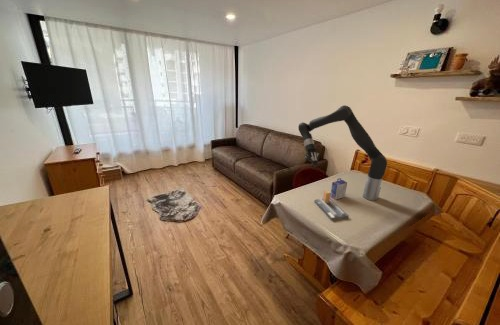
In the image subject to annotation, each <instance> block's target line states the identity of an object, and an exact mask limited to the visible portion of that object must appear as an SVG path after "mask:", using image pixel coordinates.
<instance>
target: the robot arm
mask: <svg viewBox="0 0 500 325" xmlns="http://www.w3.org/2000/svg"><path fill="white" fill-rule="evenodd" d="M337 122H345V123H346V125H347V127H348V130H349V133H350V135H351V137H352V139H353V141H354V142H355V143H356V145H358V147H359V148H360V149H361V150H363V151H364V152H365V153H366V155H367V157H368V158H369V160H370V166H369V170H368V171H367V177H366V180H365V183H364V188H363V189H364V190H363V192H362V193H363V194H362V197H363V198H364V199H365V200H367V201H376V200H378V199H379V196H380V192H381V185H382V181H383V177H384V176H385V173H386V169H387V165H388V161H387V157H385V155H384V154H383V153H382V152H381V151H380V150H379V149H378V148H377V146H376V145H375V143H374V141H373V140H372V137H371V136H370V134H369V133H368V132H367V130H365V127H364V126H363V125H362V124H361V123H360V122H359V120H358V119H357V117H356V115H355V114H354V112H353V110H352V108H351V107H350V106H349V105H342V106H340V107H338V109H336V110H335V111H333V112H331V113H330V114H327V115H324V116H320V117H316V118H314V119H311V120H310V121H309V123H306V122H303V121H302V122H300V123H299V124H298V132H299V134H300V136H301V137H302V140H303V146H304V148H305V152H306V154H305V155H304V156H303V157H304V158H305V159H306V160H307V161H308V162H311V164H312V166H313V167H318V164H319V163H318V161H319V160H320V157H321V155H322V154H321V153H319V152H318V151H317V148H316V144H315V141H314V139H313V136H312V133H311V131H314V130H315V129H317V128H321V127H323V126H324V127H325V126H326V125H329V124H333V123H337Z"/></svg>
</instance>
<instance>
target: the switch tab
mask: <svg viewBox="0 0 500 325" xmlns="http://www.w3.org/2000/svg"><path fill="white" fill-rule="evenodd" d="M322 197H323V198H322V199H323V201H324V202H325V203H329V200H330V199H331V191H329V190H324V191H323V196H322Z"/></svg>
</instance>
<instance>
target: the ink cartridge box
mask: <svg viewBox="0 0 500 325" xmlns="http://www.w3.org/2000/svg"><path fill="white" fill-rule="evenodd" d="M347 187H348V181H345V180H343V179H342V177H341V178H340V177H339V178H337V179H336V181H332V183H331V190H330V193H331V194H330V198H332V200H333V199H334V200H338V199H342V198H345V197H346V192H347Z"/></svg>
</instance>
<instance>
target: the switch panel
mask: <svg viewBox="0 0 500 325" xmlns="http://www.w3.org/2000/svg"><path fill="white" fill-rule="evenodd" d="M314 204H315V205H316V206H317V207H318V208H319V209H320V210H321V211H322V213H324V215H326V217H327V218H328V219H329V220H330V221H336V220H337V221H338V220H344V219H348V218H349V215H348V213H347V212H346V211H344V210H343V208H341V207H340V206H339V205H338V204H337V203H336V202H335V201H334V200H333V199H331V198H330V200H329V203H325V202H324V201H323V198H321V197H319V198H317V199H314Z"/></svg>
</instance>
